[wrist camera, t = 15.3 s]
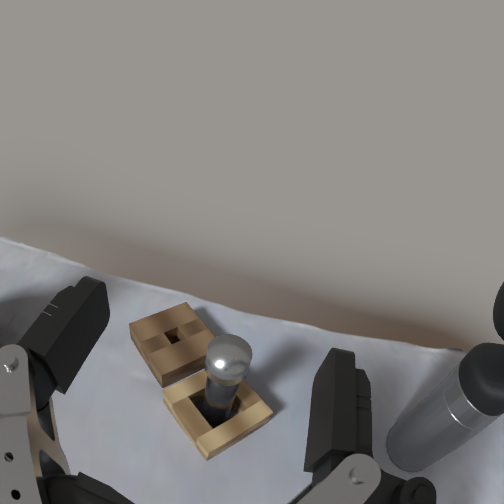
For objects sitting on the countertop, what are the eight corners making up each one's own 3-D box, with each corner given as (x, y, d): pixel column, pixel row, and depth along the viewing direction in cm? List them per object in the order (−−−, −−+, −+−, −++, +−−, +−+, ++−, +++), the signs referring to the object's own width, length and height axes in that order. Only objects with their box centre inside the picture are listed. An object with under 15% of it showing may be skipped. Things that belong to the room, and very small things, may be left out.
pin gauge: (218, 395, 41) (234, 328, 33) (238, 418, 39) (261, 357, 30) (192, 409, 39) (198, 345, 30) (211, 434, 36) (225, 378, 28)
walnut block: (185, 316, 52) (186, 301, 50) (220, 360, 47) (223, 346, 45) (131, 338, 46) (128, 323, 44) (162, 388, 41) (161, 375, 39)
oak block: (223, 372, 45) (226, 359, 43) (267, 422, 39) (273, 412, 37) (163, 402, 39) (162, 390, 37) (206, 460, 33) (208, 452, 31)
